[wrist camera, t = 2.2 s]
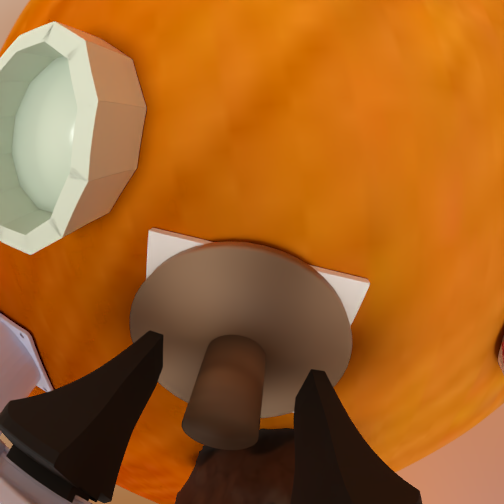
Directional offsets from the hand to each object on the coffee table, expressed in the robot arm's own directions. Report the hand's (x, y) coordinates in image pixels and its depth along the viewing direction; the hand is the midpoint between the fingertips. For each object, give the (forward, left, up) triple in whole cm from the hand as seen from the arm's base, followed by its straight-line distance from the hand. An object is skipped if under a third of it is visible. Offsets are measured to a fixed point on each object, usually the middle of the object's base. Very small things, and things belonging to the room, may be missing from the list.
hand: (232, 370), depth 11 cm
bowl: (-10, +8, -2) cm, 13 cm away
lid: (0, 0, -2) cm, 2 cm away
